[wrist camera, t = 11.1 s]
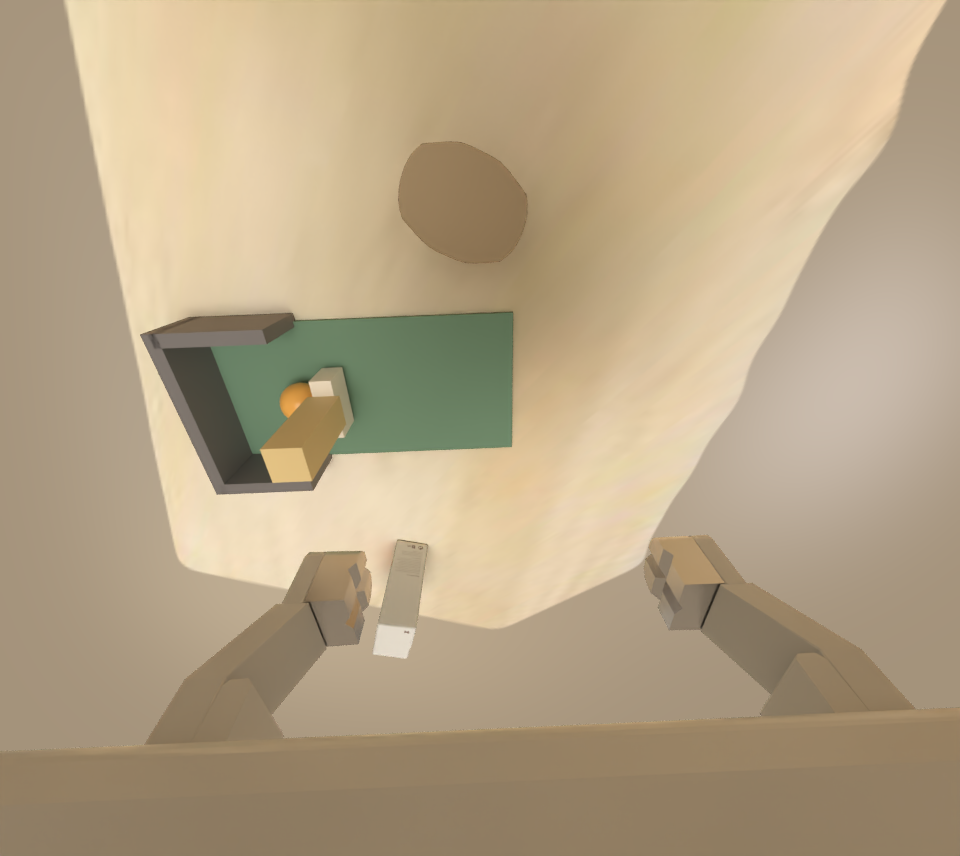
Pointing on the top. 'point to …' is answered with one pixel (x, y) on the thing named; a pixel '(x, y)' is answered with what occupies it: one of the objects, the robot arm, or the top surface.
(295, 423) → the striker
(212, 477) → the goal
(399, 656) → the skincare box
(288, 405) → the ball
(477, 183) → the handle
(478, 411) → the pitch
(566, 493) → the top surface
